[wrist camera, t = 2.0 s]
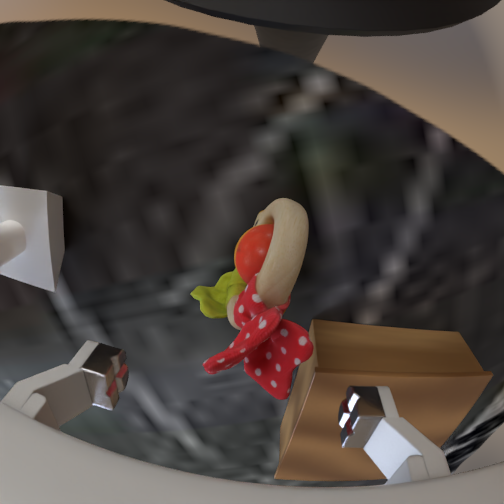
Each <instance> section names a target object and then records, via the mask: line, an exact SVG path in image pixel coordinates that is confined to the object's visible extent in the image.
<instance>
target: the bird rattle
mask: <svg viewBox="0 0 504 504" xmlns="http://www.w3.org/2000/svg"><path fill="white" fill-rule="evenodd" d="M308 231H309V225H308V217H307V213H306V211H305V209H304V208H303V207H302V206H301V205H300V204H299V203H297V202H295V201H293V200H290V199H287V198H280V199H277V200H275V201H273V202H272V203H271V204H270V205H269V206H268V207H267V208H266V209H265V210H263V211H261V212H259V214H258V216H257V218H256V221H255V224H254V226H253V228H251V229H249V230H248V231H246V232H245V233H244V234H243V235H242V237H241V238H240V239H239V241H238V243H237V246H236V249H235V253H234V262H235V266H236V268H235V270H234V271H233V272H228V273H226V274H224V275H222V276H221V278H220V279H219V281H218V282H217V284H216V286H215V287H204V286H198V287H197V288H196V289H195V290H193V291H192V293H191V295H192V296H193V297H194V298H195V299H197V300H200V310H201V311H202V313H203V314H204V315H205V316H207V317H210V318H225V317H227V316H228V320H229V322H230V324H231V325H232V326H233V327H234V328H236V329H238V330H241V331H240V333H239V334H238V336H237V338H236V339H235V340H234V341H233V342H232V344H231V345H230V346H229V347H228V348H227V349H226V350H225V351H223V352H221V353H218V354H216V355H215V356H213V357H210V358H209V359H207V360H206V361H205V362H204V363H203V366H204V368H205V371H206V372H207V373H209V374H216V373H218V372H220V371H221V370H226V369H229V368H231V367H233V366H235V365H237V364H238V363H239V362H241V361H242V360H243V359H244V370H245V372H246V373H247V374H248V375H249V376H250V377H252V378H253V379H254V380H255V381H256V382H258V383H259V384H260V385H261V386H262V387H263V388H264V389H265V390H266V391H267V392H269V393H270V394H271V395H272V396H273V397H275V398H277V399H280V400H283V399H287V398H288V396H289V394H290V387H291V382H292V372H293V370H294V369H295V368H296V367H297V366H298V365H300V364H302V363H304V362H305V361H307V360H308V359H309V358H310V357H311V356H312V354H313V349H314V346H313V343H312V341H311V339H310V337H309V334H308V332H307V331H306V330H305V329H304V328H303V327H301V326H300V325H298V324H296V323H294V322H292V321H289V320H285V319H282V316H283V314H284V312H285V311H286V309H287V307H288V306H289V304H290V293H291V291H292V289H293V286H294V284H295V282H296V280H297V277H298V275H299V272H300V269H301V266H302V262H303V259H304V255H305V251H306V246H307V241H308Z"/></svg>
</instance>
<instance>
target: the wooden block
mask: <svg viewBox="0 0 504 504" xmlns="http://www.w3.org/2000/svg"><path fill="white" fill-rule="evenodd" d="M308 334H309V337H310V339H311V341H312V343H313V346H314V349H313V354H312V356H311V357H310V358H309V359H308V360H307V361H305V362H304V363H302V364H300V365H299V369H298V372H297V375H296V379H295V382H294V386H293V389H292V392H291V395H290V399H289V402H288V405H287V408H286V411H285V414H284V417H283V421H282V424H281V429H280V456H279V465H278V468H277V470H276V472H275V476H274V478H275V479H286V480H306V481H355V480H374V479H387V478H386V476H385V475H384V474H383V473H382V472H381V470H380V469H379V468H378V467H377V465H376V464H375V463H374V462H373V460H372V459H371V458H370V457H369V455H368V454H367V453H366V452H365V450H364V449H363V448H346V447H342V444H341V437H340V433H341V431H342V429H343V428H342V427H341V426H340V425H339V422H338V412H339V407H340V404H341V402H342V400H344V399H345V398H347V397H346V391H347V388H348V387H349V386H350V385H356V386H388V387H389V388H390V391H391V394H392V397H393V400H394V402H395V405H396V408H397V411H398V414H399V417H403V418H404V419H405V420H407V421H408V422H409V423H410V424H411V425H413V426H414V427H415V428H416V429H417V430H418V431H420V432H421V433H422V434H423V435H424V436H426V437H427V438H428V439H429V440H430V441H432V442H433V443H434V444H435V445H436V446H438V447H439V448H440V447H441V446H442V445H443V444H444V442H445V441H446V440H447V439H448V438H449V436H450V435H451V434H452V433H453V431H454V430H455V429H456V428H457V426H458V425H459V424H460V422H461V421H462V420H463V418H464V417H465V416H466V414H467V413H468V412H469V410H470V409H471V408H472V406H473V405H474V403H475V402H476V400H477V399H478V398H479V396H480V395H481V393H482V392H483V390H484V389H485V387H486V386H487V384H488V383H489V381H490V379H491V378H492V376H493V374H492V372H491V371H484V370H483V369H482V367H481V365H480V364H479V362H478V361H477V359H476V358H475V356H474V355H473V353H472V351H471V350H470V348H469V347H468V345H467V344H466V342H465V341H464V339H463V338H462V336H461V335H460V333H459V332H451V331H435V330H421V329H408V328H396V327H384V326H373V325H363V324H353V323H344V322H335V321H326V320H318V319H312V322H311V326H310V329H309V333H308Z"/></svg>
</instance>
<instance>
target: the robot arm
mask: <svg viewBox="0 0 504 504" xmlns="http://www.w3.org/2000/svg"><path fill="white" fill-rule="evenodd" d="M126 359H127V357H126V352H125V351H124V350H122V349H118V348H115V347H112V346H108V345H105V344H102V343H97V342H94V341H91V340H89V341H86V343H85V344H84V345H83V346H82V348H81V349H80V350H79V351H78V353H77V354H76V355H75V356H74V358H73V359H72V360H71V361H70V363H69V364H68V365H67V364H63V365H60V366H58V367H55V368H53V369H50V370H48V371H45V372H42V373H40V374H37V375H35V376H32V377H29V378H27V379H24V380H21V381H19V382H17V383H16V384H15V385H14V386H13V387H12V389H11V390H10V391H9V392H8V393H7V395H6V396H5V397H4V398H3V400H2V401H0V504H504V462H500V463H497V464H493V465H490V466H486V467H483V468H479V469H475V470H471V471H467V472H463V473H458V474H453V475H451V473H450V470H449V467H448V464H447V461H446V458H445V455H444V452H443V451H442V450H441V449H440V448H439V447H438V446H436V445H435V444H434V443H433V442H432V441H430V440H429V439H428V438H427V437H426V436H424V435H423V434H422V433H421V432H420V431H418V430H417V429H416V428H415V427H414V426H413V425H411V424H410V423H409V422H408V421H407V420H405V419H404V418H403V417H399V414H398V411H397V408H396V405H395V402H394V400H393V397H392V394H391V391H390V388H389V387H388V386H356V385H350V386H349V387H348V388H347V391H346V397H347V398H345V399H344V400H342V402H341V404H340V407H339V412H338V422H339V425H340V426H341V427H342V428H343V429H342V431H341V433H340V437H341V444H342V447H346V448H363V449H364V450H365V452H366V453H367V454H368V455H369V457H370V458H371V459H372V460H373V462H374V463H375V464H376V465H377V467H378V468H379V469H380V470H381V472H382V473H383V474H384V475H385V476H386V478H387V479H388V481H387V482H386V483H385V484H384V485H373V486H356V487H298V486H281V485H268V484H258V483H249V482H241V481H234V480H227V479H220V478H214V477H209V476H203V475H198V474H193V473H188V472H184V471H179V470H175V469H171V468H167V467H163V466H159V465H155V464H151V463H148V462H144V461H141V460H137V459H134V458H131V457H127V456H124V455H121V454H118V453H115V452H112V451H109V450H106V449H103V448H101V447H98V446H95V445H92V444H90V443H87V442H85V441H82V440H80V439H77V438H75V437H72V436H70V435H67V434H65V433H63V432H61V430H60V428H59V426H61V425H62V424H64V423H66V422H67V421H69V420H71V419H72V418H74V417H75V416H77V415H79V414H80V413H82V412H84V411H85V410H87V409H88V408H90V407H92V406H93V405H96V406H99V407H103V408H106V409H109V410H113V409H114V408H115V406H116V404H117V402H118V400H119V394H118V393H119V392H121V391H123V390H124V389H125V387H126V385H127V381H128V376H129V371H128V367H127V365H126V364H125V363H124V362H125V361H126Z"/></svg>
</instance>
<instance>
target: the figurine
mask: <svg viewBox="0 0 504 504" xmlns="http://www.w3.org/2000/svg"><path fill="white" fill-rule="evenodd" d="M64 252H65V245H64V229H63V198H62V196H59V195H56V194H53V193H50V192H48V191H42V190H34V189H26V188H18V187H10V186H2V185H0V274H2V275H5V276H7V277H10V278H13V279H16V280H19V281H22V282H25V283H28V284H31V285H34V286H37V287H40V288H43V289H46V290H49V291H52V292H56V287H57V282H58V277H59V273H60V269H61V264H62V260H63V256H64Z"/></svg>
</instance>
